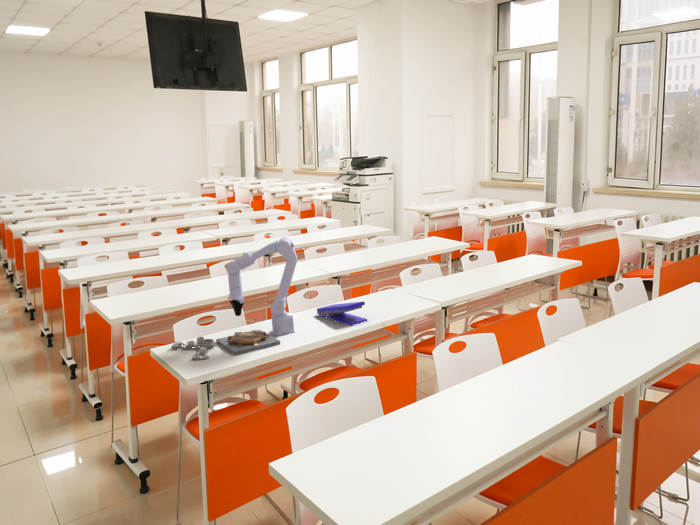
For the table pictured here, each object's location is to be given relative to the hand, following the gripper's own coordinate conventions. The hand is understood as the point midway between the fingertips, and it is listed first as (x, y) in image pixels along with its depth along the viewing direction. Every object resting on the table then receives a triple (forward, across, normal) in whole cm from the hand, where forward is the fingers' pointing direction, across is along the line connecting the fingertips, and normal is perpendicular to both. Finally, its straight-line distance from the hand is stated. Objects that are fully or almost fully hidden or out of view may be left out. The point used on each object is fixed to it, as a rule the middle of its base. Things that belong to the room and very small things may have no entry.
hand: (238, 315), depth 259 cm
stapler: (+10, +9, +50) cm, 52 cm away
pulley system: (+10, +8, -22) cm, 26 cm away
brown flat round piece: (+8, +14, -2) cm, 16 cm away
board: (+9, +14, -2) cm, 17 cm away
